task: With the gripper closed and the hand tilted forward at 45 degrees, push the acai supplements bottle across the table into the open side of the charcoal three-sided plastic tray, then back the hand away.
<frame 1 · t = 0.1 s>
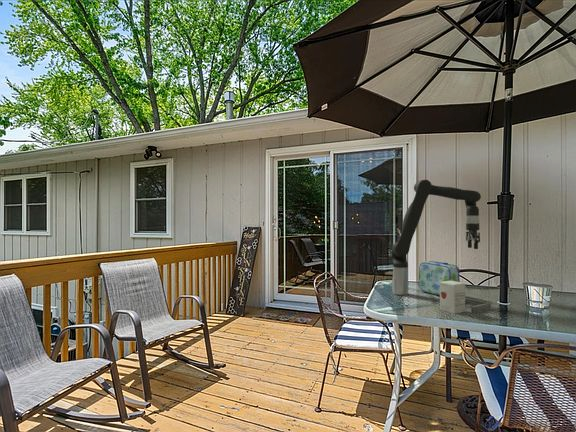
hand: (472, 248, 219), 29 cm above the table, tool pointing down, fingers open, 8 cm apart
lunch box: (438, 294, 220), on the table
supplement box: (452, 311, 181), on the table
tray: (467, 307, 188), on the table
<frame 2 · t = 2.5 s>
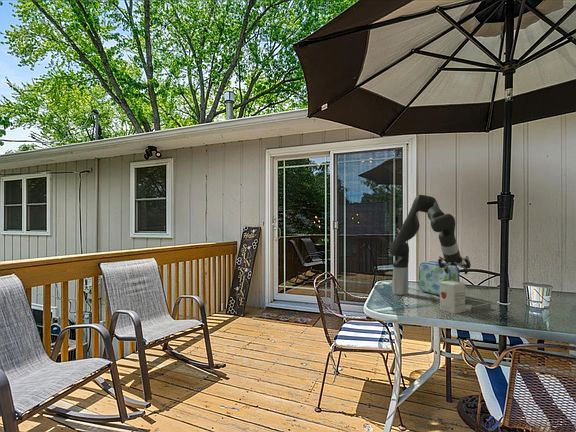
hand: (456, 272, 176), 21 cm above the table, tool tilted 40°, fingers open, 8 cm apart
nothing on the table moved.
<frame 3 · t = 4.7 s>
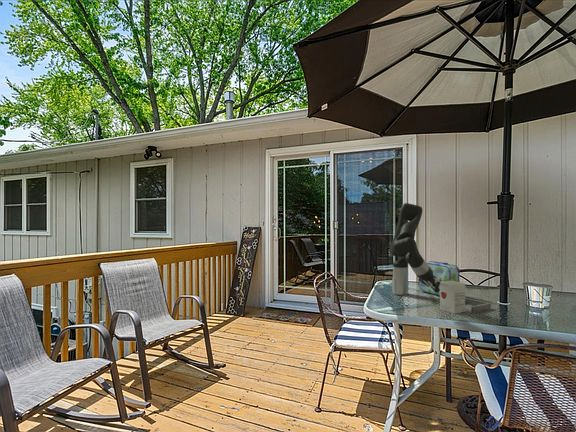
hand: (437, 291, 175), 12 cm above the table, tool tilted 45°, fingers closed
nothing on the table moved.
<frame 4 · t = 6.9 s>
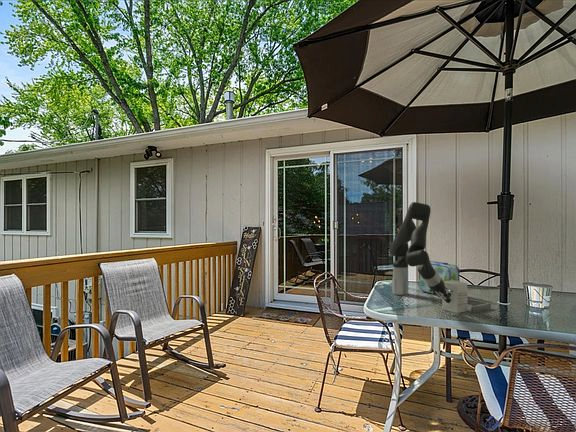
hand: (448, 301, 180), 5 cm above the table, tool tilted 45°, fingers closed
supplement box: (454, 310, 182), on the table
everything else where it was.
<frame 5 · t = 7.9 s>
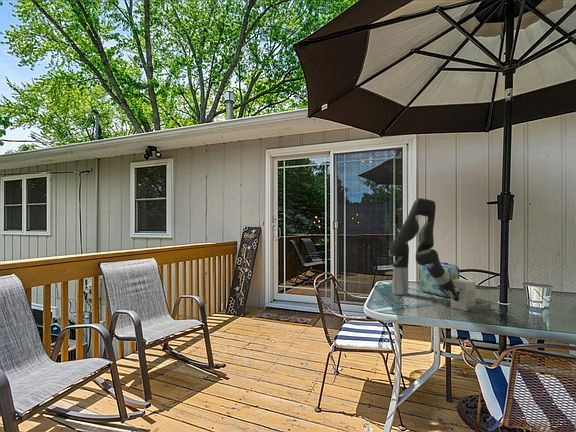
hand: (457, 299, 183), 5 cm above the table, tool tilted 45°, fingers closed
supplement box: (463, 308, 186), on the table, touching gripper
everything else where it was.
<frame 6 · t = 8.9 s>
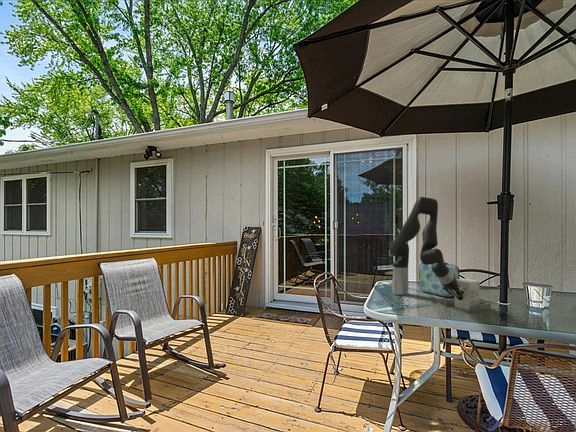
hand: (460, 299, 185), 5 cm above the table, tool tilted 45°, fingers closed
supplement box: (466, 308, 187), on the table, touching gripper
everything else where it was.
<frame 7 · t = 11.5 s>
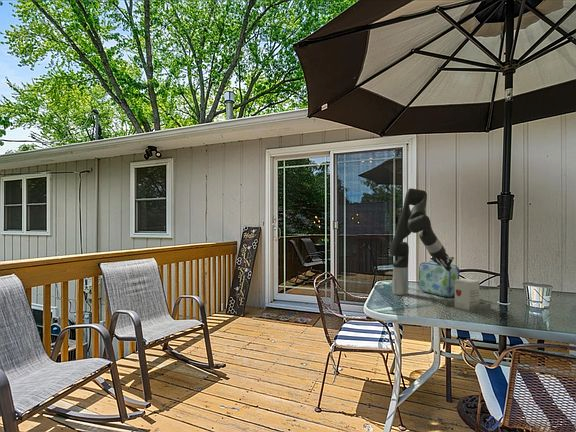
hand: (449, 269, 180), 22 cm above the table, tool tilted 45°, fingers closed
supplement box: (466, 308, 187), on the table
everything else where it was.
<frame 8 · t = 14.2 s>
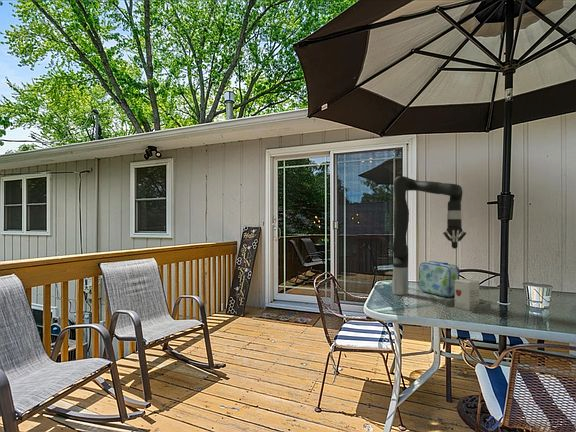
hand: (454, 248, 200), 31 cm above the table, tool pointing down, fingers closed
nothing on the table moved.
at the end: supplement box 0.9 cm from the tray (horizontally); supplement box tilted 0°; supplement box moved 12.2 cm from its start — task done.
